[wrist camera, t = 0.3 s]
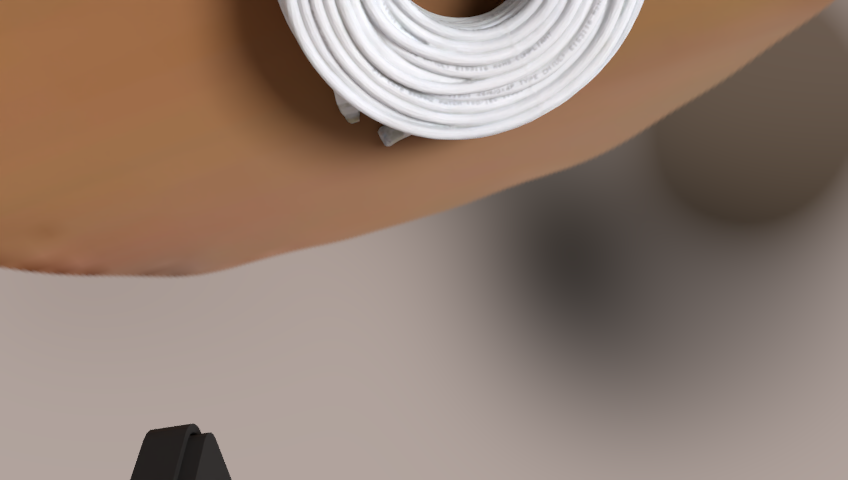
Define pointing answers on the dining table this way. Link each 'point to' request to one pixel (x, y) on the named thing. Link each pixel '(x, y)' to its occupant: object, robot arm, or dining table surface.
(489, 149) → the dining table surface
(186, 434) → the robot arm
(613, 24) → the cable
